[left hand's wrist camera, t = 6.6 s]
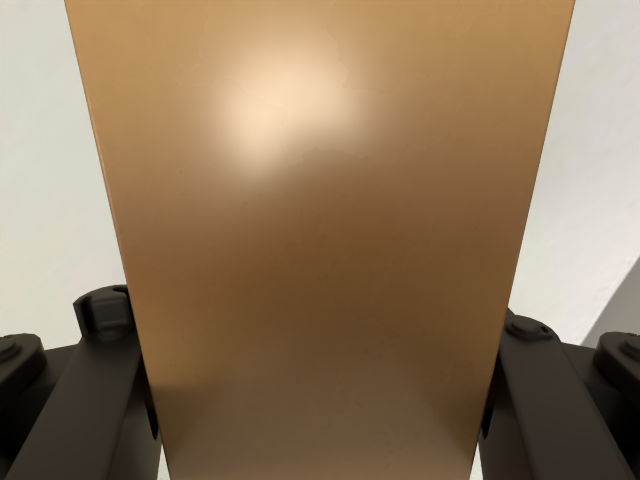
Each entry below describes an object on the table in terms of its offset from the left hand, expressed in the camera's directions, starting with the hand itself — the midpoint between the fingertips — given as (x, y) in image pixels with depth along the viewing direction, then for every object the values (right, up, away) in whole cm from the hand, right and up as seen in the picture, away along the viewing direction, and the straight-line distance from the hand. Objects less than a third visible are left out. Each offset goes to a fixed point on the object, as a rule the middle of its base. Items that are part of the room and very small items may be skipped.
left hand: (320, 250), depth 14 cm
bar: (0, +8, -3) cm, 9 cm away
